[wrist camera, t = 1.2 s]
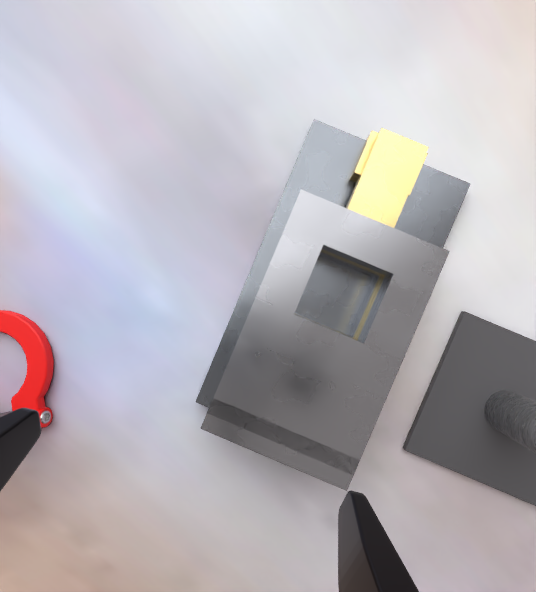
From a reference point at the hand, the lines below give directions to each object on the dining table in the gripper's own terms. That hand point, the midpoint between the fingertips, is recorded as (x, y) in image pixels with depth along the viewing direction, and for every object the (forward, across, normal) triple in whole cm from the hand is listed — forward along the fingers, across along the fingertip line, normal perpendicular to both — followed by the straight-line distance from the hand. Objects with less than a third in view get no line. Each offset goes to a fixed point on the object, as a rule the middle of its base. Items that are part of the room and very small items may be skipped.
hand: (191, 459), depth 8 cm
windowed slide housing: (+15, -5, 0) cm, 16 cm away
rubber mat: (+13, -20, +5) cm, 24 cm away
